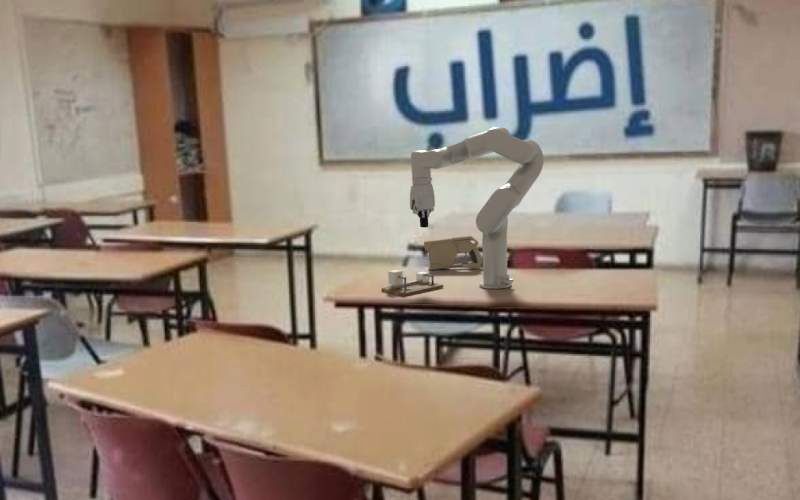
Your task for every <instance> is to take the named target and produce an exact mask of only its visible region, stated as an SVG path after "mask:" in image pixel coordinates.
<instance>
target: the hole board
mask: <svg viewBox="0 0 800 500" xmlns="http://www.w3.org/2000/svg"><path fill="white" fill-rule="evenodd" d="M406 288H407V289H404V287H401V288H396V289H391V290H390V289H388V286H386V287H382V288H381V292H383V293H387V294H392V295H395V296H400V297H408V296H413V295H418V294H422V293H426V292H431V291H436V290H441V289H443V288H444V284H441V283H437V282H434V284H432V281H430V282H428V283H424V284H422V283H420V284H415V285H410V286H406Z"/></svg>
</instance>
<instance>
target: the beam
mask: <svg viewBox="0 0 800 500" xmlns="http://www.w3.org/2000/svg"><path fill="white" fill-rule="evenodd" d="M415 273H416V274H415V275H416V276H415V277H416V278H415V279H416V280H410V281H406V286H410V285H415V284H420V283H422V284H424V283H428V282H432V284H434V283H435V281H434V277H435V275H434V274H433V275H432V274H430V272H425V271H420V272H415ZM430 279H431V280H430ZM387 287H388V289H390V290H391V289H396V288H401V287H404V282H403V284H400V285H388V286H387Z"/></svg>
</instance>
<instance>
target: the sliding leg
mask: <svg viewBox="0 0 800 500" xmlns="http://www.w3.org/2000/svg"><path fill="white" fill-rule="evenodd" d="M387 276H388V279H387V280H388V284H389V286H391V285H400V284H403V283H404V289H407V288H406V282H407V277H406V276H404V275H403V270H400V269H393V270H388V271H387Z"/></svg>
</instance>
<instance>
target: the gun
mask: <svg viewBox="0 0 800 500" xmlns="http://www.w3.org/2000/svg"><path fill="white" fill-rule="evenodd" d="M472 241H473V242H472ZM478 245H479V241H478V240H477V239H476V238H475V237H474V236H472V235H463V236H454V237H449V238H441V239H432V240H424V241H423V246H424V251H425V252H428V258H429V259H428V260H429V264H430V265H429V267H428V271H438V270H446V269H447V270H448V269H454V268H462V267H463V268H469V269H474V270H475V269H476V270H480V269H481V268H482V267H481V266H482V264H483V256H481V253H480V251H479V248H478ZM467 253H468V255H469V258H470V259H471V261H466V262H461V263H453V262H454V261H455V259H456V257H457V256H458V254H465V256H464V258H466V256H467Z"/></svg>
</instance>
